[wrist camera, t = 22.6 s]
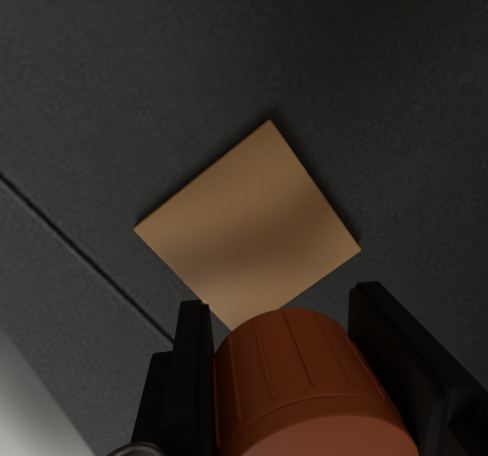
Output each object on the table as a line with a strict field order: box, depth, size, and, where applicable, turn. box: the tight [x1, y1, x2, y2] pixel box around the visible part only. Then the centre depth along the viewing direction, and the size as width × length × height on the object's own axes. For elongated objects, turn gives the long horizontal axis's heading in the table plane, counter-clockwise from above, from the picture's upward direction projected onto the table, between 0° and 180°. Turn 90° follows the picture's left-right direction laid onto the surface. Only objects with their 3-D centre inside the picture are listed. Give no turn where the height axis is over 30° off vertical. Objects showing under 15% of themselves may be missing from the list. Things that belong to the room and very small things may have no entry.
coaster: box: [133, 119, 361, 331], centre depth 17 cm, size 8×8×1 cm
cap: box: [213, 308, 419, 456], centre depth 8 cm, size 4×4×3 cm
